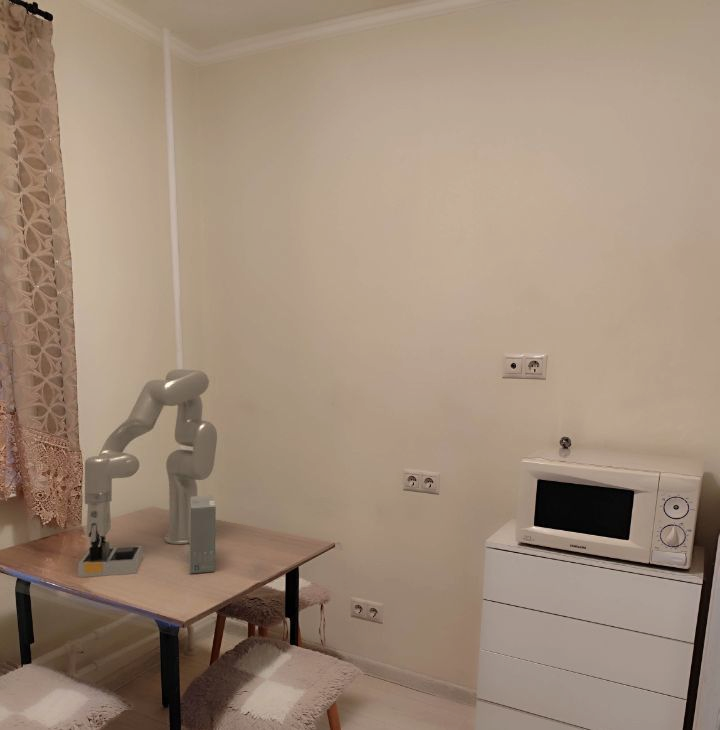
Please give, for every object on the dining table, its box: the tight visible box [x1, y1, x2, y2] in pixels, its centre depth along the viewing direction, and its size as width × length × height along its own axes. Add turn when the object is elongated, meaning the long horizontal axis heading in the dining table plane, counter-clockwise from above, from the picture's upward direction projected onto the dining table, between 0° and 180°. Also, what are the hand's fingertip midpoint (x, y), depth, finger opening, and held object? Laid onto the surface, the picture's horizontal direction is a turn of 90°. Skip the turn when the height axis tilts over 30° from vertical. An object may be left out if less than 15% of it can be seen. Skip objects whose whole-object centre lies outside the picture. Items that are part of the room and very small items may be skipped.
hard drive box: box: [188, 494, 217, 574], centre depth 180 cm, size 16×8×20 cm, turn 17°
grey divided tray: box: [77, 545, 144, 578], centre depth 177 cm, size 16×13×5 cm
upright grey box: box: [88, 541, 111, 561], centre depth 176 cm, size 5×4×4 cm
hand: (98, 555), depth 176 cm, fingers closed on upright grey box, 4 cm apart
